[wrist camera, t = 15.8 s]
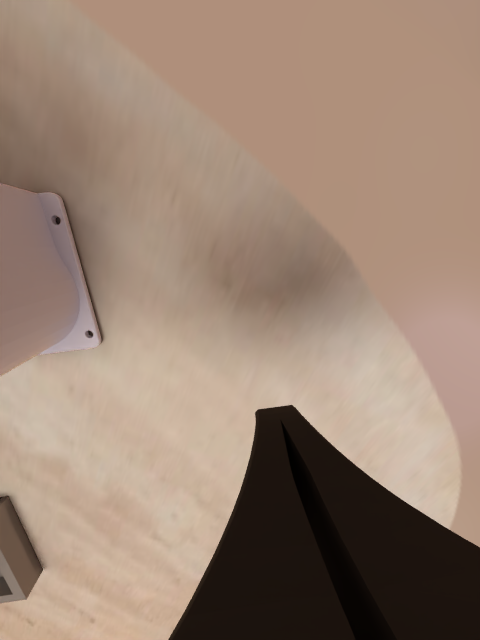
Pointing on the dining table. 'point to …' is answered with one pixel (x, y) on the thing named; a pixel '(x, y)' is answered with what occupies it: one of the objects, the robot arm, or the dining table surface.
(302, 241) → the dining table surface
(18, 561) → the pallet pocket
